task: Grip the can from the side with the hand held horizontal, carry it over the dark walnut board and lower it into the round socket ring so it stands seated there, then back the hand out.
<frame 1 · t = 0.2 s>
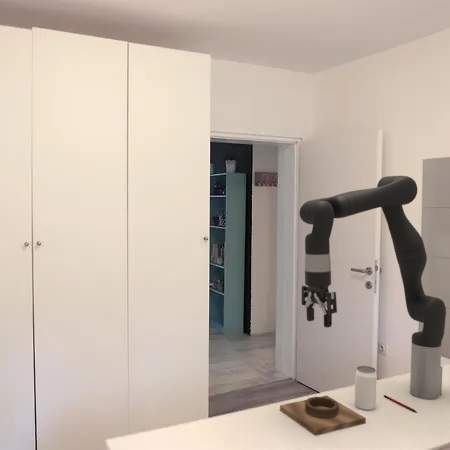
hand: (318, 323, 145), 28 cm above the table, tool pointing down, fingers open, 8 cm apart
pencil: (400, 406, 157), on the table
can: (365, 406, 156), on the table
socket board: (321, 416, 148), on the table
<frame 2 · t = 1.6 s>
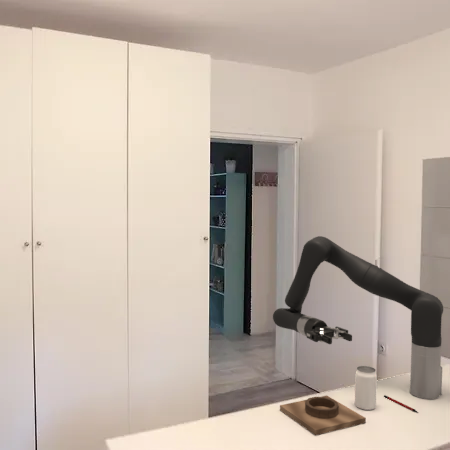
hand: (341, 339, 166), 18 cm above the table, tool horizontal, fingers open, 8 cm apart
nothing on the table moved.
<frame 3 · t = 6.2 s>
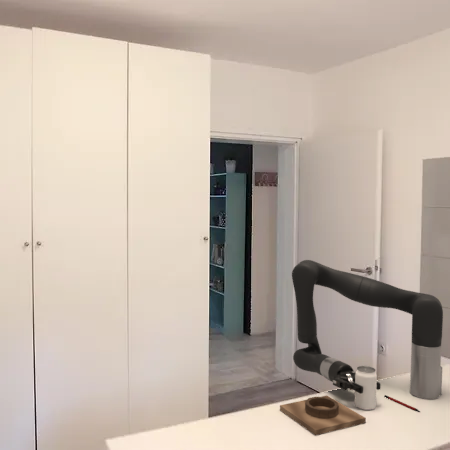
hand: (370, 388, 154), 7 cm above the table, tool horizontal, fingers closed on can, 6 cm apart
can: (365, 406, 156), on the table, touching gripper
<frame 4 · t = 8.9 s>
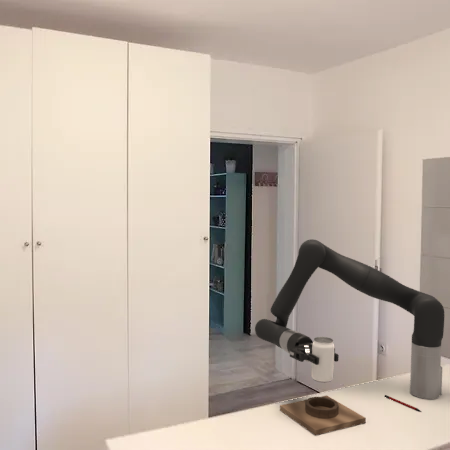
hand: (327, 359, 146), 18 cm above the table, tool horizontal, fingers closed on can, 6 cm apart
can: (322, 379, 148), point 11 cm above the table, touching gripper
when the fingers open (9 cm above the table, at t = 11.6 s): can stays where it is, resting on socket board.
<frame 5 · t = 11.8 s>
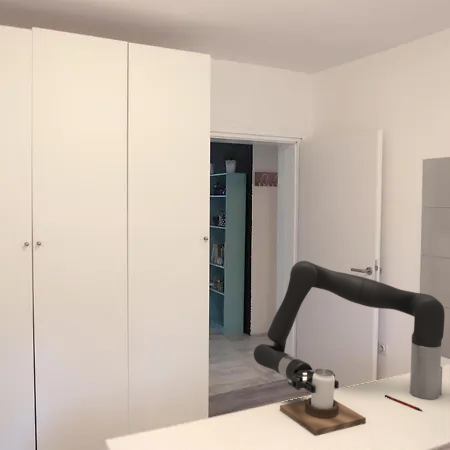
hand: (326, 387, 146), 9 cm above the table, tool horizontal, fingers open, 8 cm apart
can: (321, 411, 149), point 1 cm above the table, touching socket board
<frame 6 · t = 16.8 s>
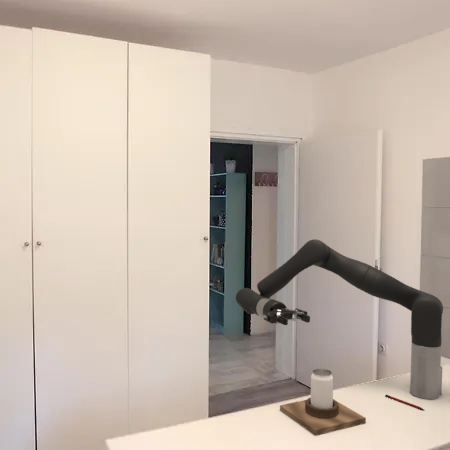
hand: (298, 320, 159), 26 cm above the table, tool horizontal, fingers open, 8 cm apart
at the end: can 0.2 cm off-centre on the socket board, point 1.3 cm above the socket board's base; can tilted 0°; the gripper is holding nothing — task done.
